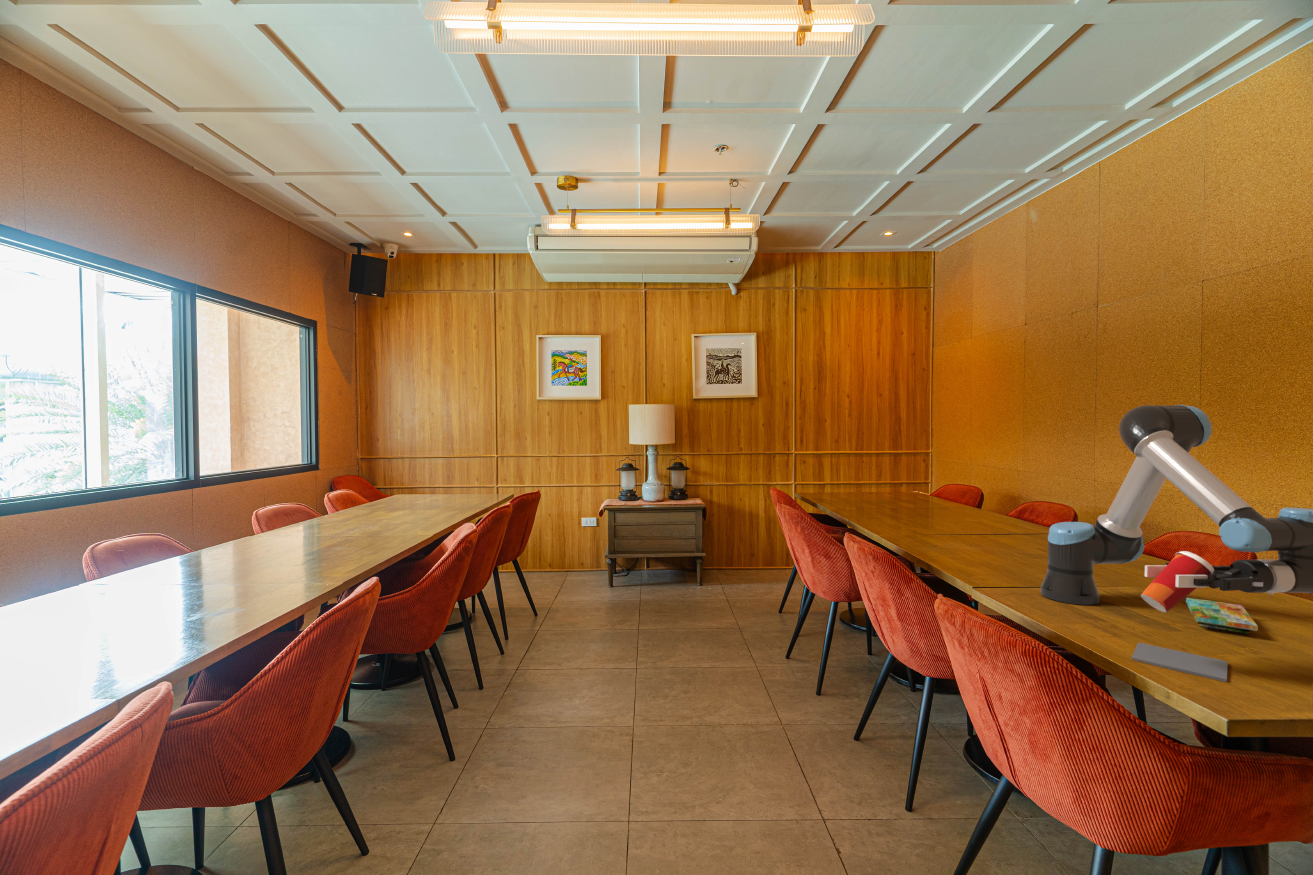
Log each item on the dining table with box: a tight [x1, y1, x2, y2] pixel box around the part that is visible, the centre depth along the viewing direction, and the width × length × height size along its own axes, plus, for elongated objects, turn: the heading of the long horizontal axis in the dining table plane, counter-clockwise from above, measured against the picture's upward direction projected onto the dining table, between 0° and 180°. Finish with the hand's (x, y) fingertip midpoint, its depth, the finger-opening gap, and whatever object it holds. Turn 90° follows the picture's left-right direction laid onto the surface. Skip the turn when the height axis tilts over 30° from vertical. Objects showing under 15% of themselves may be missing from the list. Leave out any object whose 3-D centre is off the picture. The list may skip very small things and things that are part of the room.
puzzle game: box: [1185, 597, 1259, 635], centre depth 161 cm, size 12×5×20 cm
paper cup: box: [1140, 550, 1214, 613], centre depth 136 cm, size 8×8×14 cm
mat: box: [1130, 642, 1228, 683], centre depth 135 cm, size 16×13×1 cm
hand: (1161, 575), depth 135 cm, fingers closed on paper cup, 8 cm apart
